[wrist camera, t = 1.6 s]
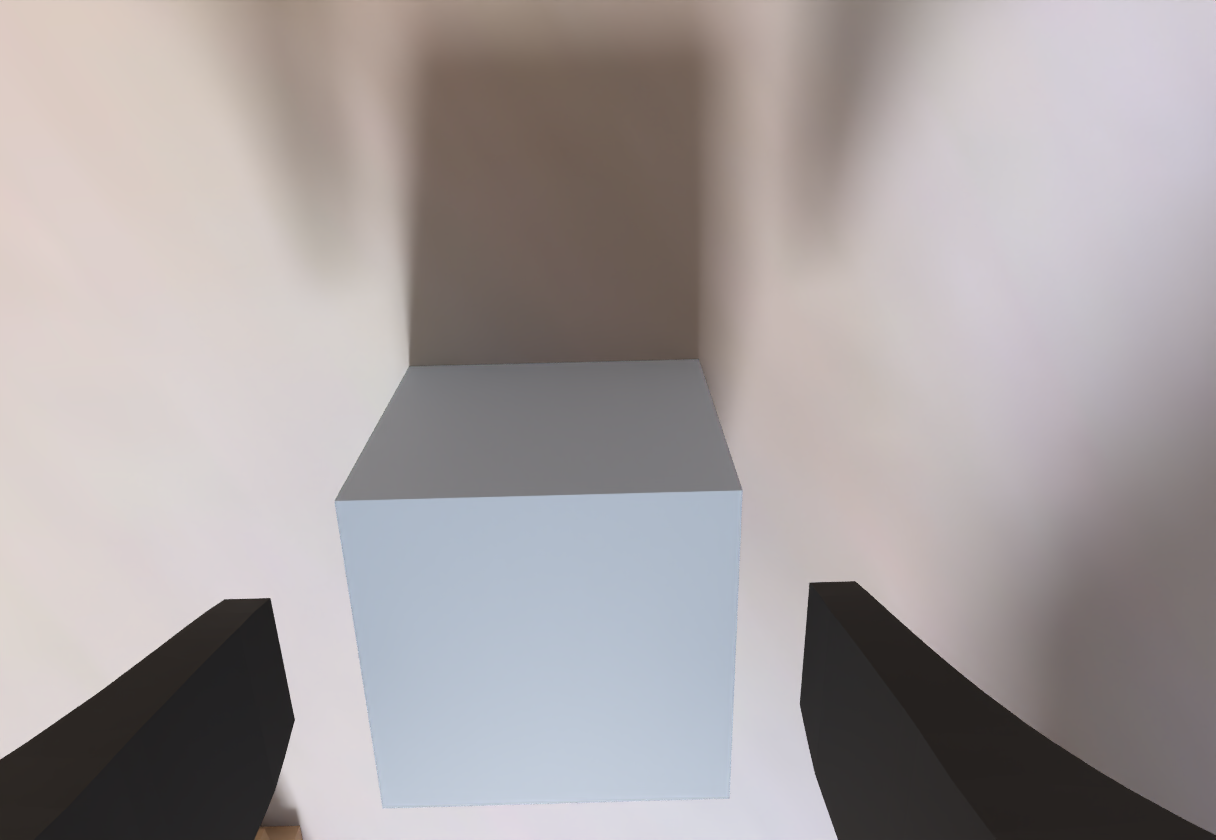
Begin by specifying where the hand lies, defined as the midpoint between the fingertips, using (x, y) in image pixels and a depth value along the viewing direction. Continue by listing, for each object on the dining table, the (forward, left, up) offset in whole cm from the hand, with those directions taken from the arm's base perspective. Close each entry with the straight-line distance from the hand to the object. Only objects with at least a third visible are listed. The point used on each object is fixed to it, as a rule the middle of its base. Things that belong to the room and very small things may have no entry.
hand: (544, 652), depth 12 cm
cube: (0, 0, -5) cm, 5 cm away
